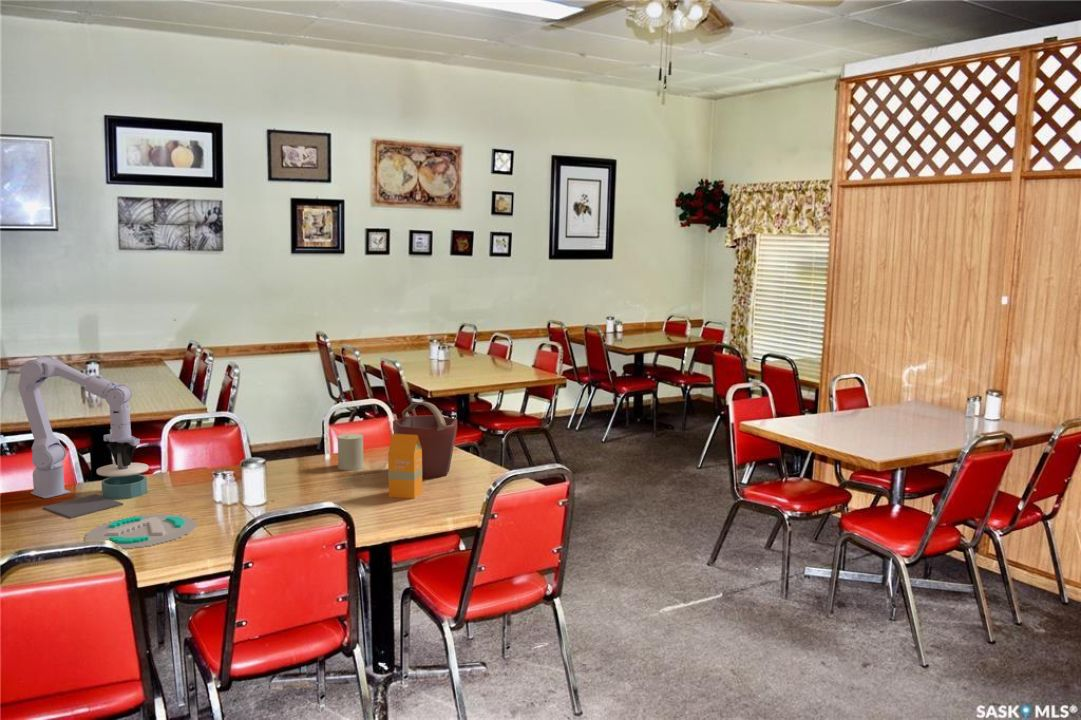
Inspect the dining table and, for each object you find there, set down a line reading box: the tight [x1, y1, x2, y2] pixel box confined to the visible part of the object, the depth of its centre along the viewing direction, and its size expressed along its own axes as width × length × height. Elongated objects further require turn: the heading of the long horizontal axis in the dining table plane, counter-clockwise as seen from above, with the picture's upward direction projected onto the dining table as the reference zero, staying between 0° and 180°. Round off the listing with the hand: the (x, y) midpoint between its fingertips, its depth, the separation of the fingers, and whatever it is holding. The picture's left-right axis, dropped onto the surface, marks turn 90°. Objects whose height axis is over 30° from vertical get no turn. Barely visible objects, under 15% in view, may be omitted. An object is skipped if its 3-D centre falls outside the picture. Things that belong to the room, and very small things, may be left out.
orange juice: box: [387, 433, 423, 499], centre depth 276 cm, size 8×9×20 cm
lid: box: [96, 452, 150, 478], centre depth 274 cm, size 15×15×6 cm
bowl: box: [101, 473, 148, 500], centre depth 276 cm, size 13×13×4 cm
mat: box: [42, 493, 124, 519], centre depth 262 cm, size 16×16×1 cm
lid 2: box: [83, 513, 198, 550], centre depth 241 cm, size 28×28×2 cm
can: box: [337, 432, 365, 472], centre depth 309 cm, size 9×9×12 cm
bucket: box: [392, 401, 458, 480], centre depth 302 cm, size 24×22×25 cm
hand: (123, 464), depth 274 cm, fingers closed on lid, 3 cm apart
